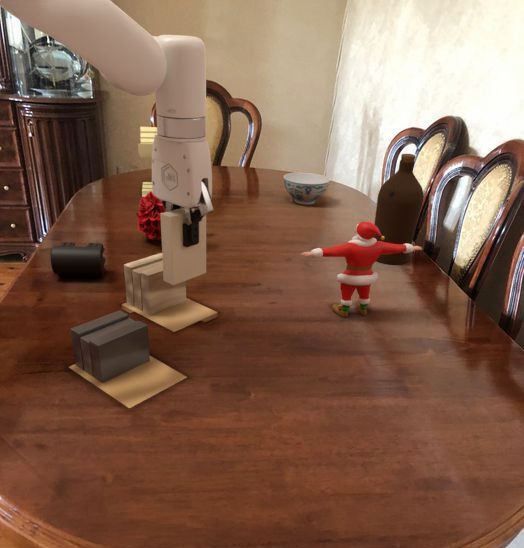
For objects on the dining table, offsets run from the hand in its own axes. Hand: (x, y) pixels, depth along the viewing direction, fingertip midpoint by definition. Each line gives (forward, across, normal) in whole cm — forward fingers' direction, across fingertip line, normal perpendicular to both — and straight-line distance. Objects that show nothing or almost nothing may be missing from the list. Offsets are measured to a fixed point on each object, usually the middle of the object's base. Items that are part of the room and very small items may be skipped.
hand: (184, 241), depth 90 cm
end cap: (+16, -31, -2) cm, 34 cm away
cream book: (+7, 0, 0) cm, 7 cm away
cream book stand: (+15, -5, 0) cm, 16 cm away
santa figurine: (+16, +20, +26) cm, 37 cm away
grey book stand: (+15, +7, -19) cm, 26 cm away
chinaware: (+16, -35, +85) cm, 93 cm away
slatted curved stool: (+16, -71, +57) cm, 92 cm away
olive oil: (+16, +10, +60) cm, 63 cm away
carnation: (+16, -42, +33) cm, 55 cm away
